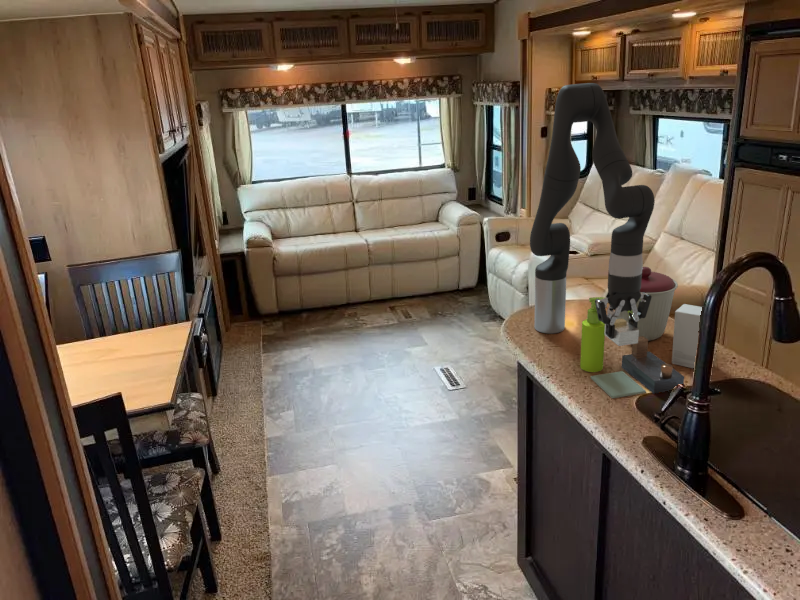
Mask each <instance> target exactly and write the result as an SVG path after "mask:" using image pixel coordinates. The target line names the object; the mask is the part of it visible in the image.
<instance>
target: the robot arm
mask: <svg viewBox="0 0 800 600" xmlns="http://www.w3.org/2000/svg"><path fill="white" fill-rule="evenodd" d="M554 105H555V107H554V114H553V122H552V123H553V124H552V134H551V142H550V145H549V146H550V147H549V152H548V158H547V161H546V162H547V163H546V167H545V171H544V176H543V181H542V189H541V194H540V198H539V203H538V205H537V211H536V213H535V217H534V220H533V223H532V227H531V230H530V234H529V235H530V236H529V247H530V251H531V252H532V254H533V255H535V256H537V257H547V256H549V257H548V258H547V259H546V260H544V261H543V262H541V263H539V264H538V265H536V267H535V271H534V276H535V277H534V329H535V330H536V331H537V332H540V333H543V334H558V333H561V332H563V331H564V330H565V323H566V305H567V304H566V301H567V299H566V297H567V272H568V268H569V260H570V250H571V249H570V248H571V234H570V230H569V227H568V226H567V225H566V223H563V222H556V223H553V221H554V219H555V217H556V216H557V215H558V213H559V212H560V211H561V210H562V209H563V208H564V206H566V205H567V203H568V202H569V201H570V200H571V199H572V197H573V196H574V194H575V193H576V191H577V188H578V183H579V180H580V176H581V175H580V174H581V170H582V169H581V167H582V166H581V162H580V160H579V158H578V155H577V153H576V151H575V150H574V146H573V144H572V141H571V133H572V127H573V124H575V123H585V122H591V123H592V125H593V126H594V128H595V132H596V135H595V138H594V141H593V146H592V152H591V153H592V154H591V155H592V162H593V165H594V167H595V170H596V171H597V174H598V176H599V178H600V180H601V183H602V189H603V197H604V206H605V210H606V211H607V212H606V213H608V214H609V216H610V217H612V218H614V219H619V220H620V219H627V218H628V219H627V221H626V222H625V223H624V224H622V225H619V226H617V227H614V229H613V230H612V232H611V238H610V239H611V242H610V255H609V258H608V272H607V273H608V274H607V294H606V296H605V297H604V298H603V299H601V300H599V299H596V300H595V305H596V310H597V315H598V319H599V320H600V321H601V322H603V323H604V324H606V332H605V333H606V335H607V336H608V337H609V338H610V339H613V338H614V330H615V325H614V323H615V321H616V318H617V317H618V316H619V314H620V312H623V311H627V312H628V314H629V317H630V319H629V321H628V323H629V324H631V325H632V326H634V327H635V328H637V324H638V321H639V319H641V318H645V317H646V314H647V311H648V308H649V305H650V301H651V298H652V296H651V295H649V294H647V293H645V292H643V293H640V289H641V280H642V268H643V267H644V266H643V265H644V260H643V259H644V258H643V249H644V248H643V246H644V236H645V234H646V231H647V228H648V226H649V225H648V224H649V223H650V220H651V217H652V215H653V211H654V208H655V201H656V200H655V195H654V192H653V190H652V189H651V188H650V186H648V185H645V184H637V185H629V186H624V185H625V184H627V183H628V182H629V181H630V180H631V179H632V177H633V169H632V167H631V165H630V162H629V160H628V158H627V156H626V154H625V153H624V150H623V149H622V146H621V144H620V141H619V138H618V136H617V132H616V128H615V125H614V120H613V117H612V114H611V110H610V106H609V104H608V100H607V96H606V95H605V92H604V90H603V88H602V87H601V86H600V84H598V83H594V82H587V83H586V82H585V83H575V84H574V83H572V84H567V85H563V86H562V87H561V88H560V89H559V90H558V93H557V96H556V100H555V104H554ZM638 300H639V305H638V308H637V307H636V303H637V302H638ZM607 304H608V305H609V306H608V305H607ZM607 307H608V308H607ZM606 308H607V310H606ZM608 337H607V338H608ZM609 338H608V339H609ZM610 339H609V340H610Z"/></svg>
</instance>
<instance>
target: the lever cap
mask: <svg viewBox="0 0 800 600" xmlns="http://www.w3.org/2000/svg"><path fill="white" fill-rule="evenodd" d="M614 325H615V330H614V338H613V339H610V338H609V337H608V336H607V335H606V333H604V335H605V337H606V338H608V339H609V340H610V341H611V342H613V343H614V344H615V345H617V346H619V347H620V346H622V347H623V346H628V345H632V344H636V343H638V336H639V330H638V329H637V328H635V327H634V326H632V325H631V324H629V323H628V322H627V321H626V320H624V319H623V318H622V319H616V321H615V323H614ZM605 332H606V324H605Z"/></svg>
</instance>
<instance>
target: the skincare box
mask: <svg viewBox="0 0 800 600" xmlns="http://www.w3.org/2000/svg"><path fill="white" fill-rule="evenodd" d="M702 307H703V306H699V305H692V304H686V303H683V304H682V305H681V306H680V307H679V308H677V309H676V310H675V311H674V324H673V338H672V339H673V340H672V353H671V354H672V355H671V365H677V366H682V367H686V368H690V369H693V368H694V362H695V356H696V350H697V343H698V331H699V322H700V315H701V311H702Z"/></svg>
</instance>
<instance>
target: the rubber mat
mask: <svg viewBox="0 0 800 600" xmlns="http://www.w3.org/2000/svg"><path fill="white" fill-rule="evenodd" d="M590 379H591V380H592V381H593V382H594V383H595V384H596V385H597V386H598V387H599V388H600V389H602V391H604V392H605V393H606V394H607V395H608V396H609V397H610V398H611V399H617V398H622V397H623V398H624V397H631V396H635V395H640V394H641V395H642V394H646V393H647V390H646V389H644V388H643V387H642V386H641V385H640V384H638V383H637V381H635V379H632V378H631V377H630V376H629V375H628V374H626V373H625V372H624V371H623V370H621V371H615V372H613V371H612V372H608V373H602V374H595V375H590Z"/></svg>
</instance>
